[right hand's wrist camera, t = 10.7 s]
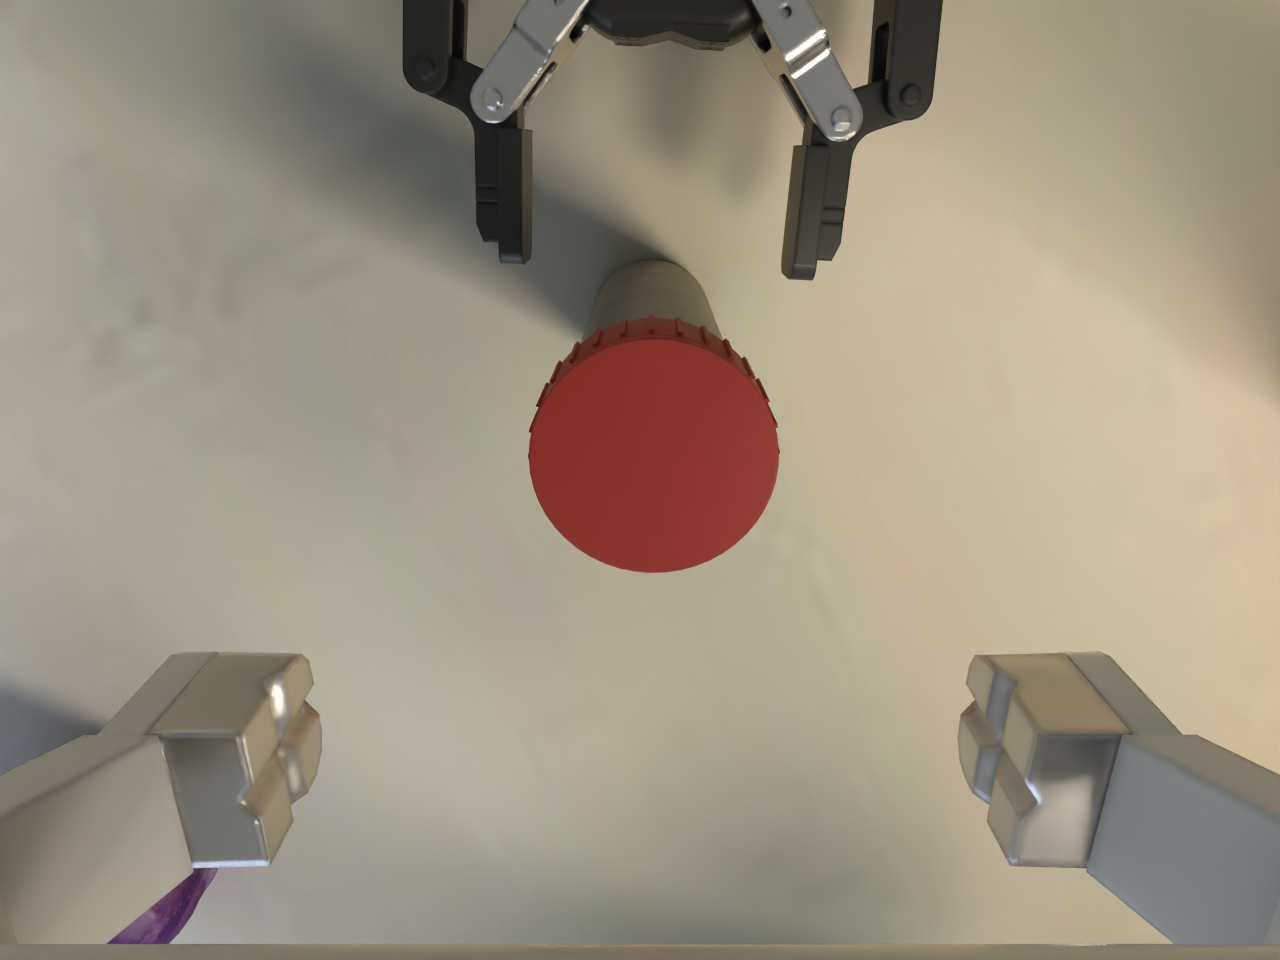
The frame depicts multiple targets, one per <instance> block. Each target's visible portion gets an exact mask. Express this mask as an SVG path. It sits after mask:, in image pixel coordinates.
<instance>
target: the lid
mask: <svg viewBox="0 0 1280 960" xmlns="http://www.w3.org/2000/svg"><path fill="white" fill-rule="evenodd" d="M768 402H770V401H769V399H768V397H767V394H766V392H765V390H764V388H763V386H762V384H761V382H760V380H759V378H758V379H756V380H755V376H754V373H753V371H752V369H751V367H750V365H749V363H748V361H747V359H746V358H745V357H743V358H741V357H740V356H739V355H738V354H737V353H736V352H735V351H734V350H733V349H732V348H731V345H730V343H729V341H728V340H727V339H724V340H723V341H722V340H721V339H720V338H718V337H717V336H715V335H714V334H712V333H710V332H708V331H707V328H706V326H704V325H702V326H701V328H700V327H697V326H695V325H692V324H689V323H686V322H682V321H681V318H679V317H676V319H675V320H673V319H664V318H654V315H649V318H642V319H635V320H629V321H627V319H626V318H624V319H622V321H621V323H618V324H615V325H612V326H610V327H607V328H605V329H603V330H602V329H601V327H600V328H598V329H596V333H595V334H594V335H592V336H591V337H589V338H587V339H586V340H585V341H583V342H582V343H581V344H580V343H579V342H577V343H575V345H574V347H573V350H572V352H571V353H570V354H569V355H568V356H567V357H566V358H565V360H564V361H563V362H561V361H559V362H558V363H557V365H556V367H555V370H554V372H553V374H552V377H551V379H550V384H549V383H546V384H545V387H544V389H543V391H542V393H541V396H540V398H539V400H538V402H537V405H536V406H537V407H538V410H537V412H536V414H535V417H534V419H533V421H532V424H531V426H530V429H529V432H530V433H531V438H530V445H529V454H528V459H529V465H530V474H531V478H532V483H533V487H534V490H535V493H536V495H537V498H538V501H539V503H540V505H541V506H542V508H543V510H544V512H545V514H546V516H547V517H548V518H549V520H550V521H551V523H552V524H553V525H554V527H555V528H556V529H557V530H558V531H559V532H560V533H561V534H562V535H563V536H564V537H565V539H567V540H568V541H569V542H570V543H572V544H573V545H574V546H575V547H576V548H578V549H579V550H581V551H582V552H584V553H585V554H587V555H589V556H590V557H592V558H594V559H596V560H598V561H601V562H603V563H605V564H608V565H611V566H614V567H617V568H620V569H625V570H630V571H635V572H646V573H660V572H671V571H678V570H683V569H686V568H690V567H694V566H697V565H699V564H702V563H704V562H707V561H709V560H711V559H713V558H715V557H717V556H719V555H720V554H722V553H724V552H725V551H727V550H728V549H729V548H731V547H732V546H734V545H735V544H736V543H737V542H738V541H739V540H740V539H742V538H743V537H744V536H745V535H746V534H747V533H748V532H749V530H750V529H751V528H752V527H753V526H754V525H755V523H756V522H757V521H758V519H759V517H760V516H761V514H762V513H763V511H764V510H765V508H766V506H767V504H768V501H769V499H770V497H771V495H772V492H773V488H774V485H775V482H776V477H777V471H778V463H779V453H780V450H779V447H778V438H777V432H776V429H775V428H778V426H777V422H776V420H775V418H774V416H773V414H772V411H771V409H770V407H769V405H768Z"/></svg>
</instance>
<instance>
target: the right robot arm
mask: <svg viewBox="0 0 1280 960" xmlns="http://www.w3.org/2000/svg"><path fill="white" fill-rule="evenodd" d="M313 685H314V682H313V677H312V672H311V668H310V663H309V660H308V659H307V658H306V657H305V656H303V655H302V654H288V653H239V652H222V653H219V652H181V653H177V654H173V655H171V656H170V657H169V658H168V659H167V660H166V661H165V662H164V663H163V664H162V665H161V667H160V668H159V669H158V670H157V671H156V672H155V673H154V674H153V675H152V676H151V677H150V678H149V679H148V681H147V682H146V683H145V684H144V685H143V686H142V687H141V688H140V689H139V690H138V691H137V692H136V693H135V695H134V696H133V697H132V698H131V699H130V700H129V701H128V702H127V703H126V704H125V705H124V706H123V708H122V709H121V710H120V711H119V712H118V713H117V714H116V715H115V716H114V717H113V718H112V719H111V720H110V722H109V723H108V724H107V725H106V726H105V727H104V728H103V729H102V730H101V731H100V732H99V733H98V734H97V735H82V736H80V737H78V738H76V739H74V740H72V741H70V742H68V743H66V744H63V745H61V746H59V747H57V748H55V749H53V750H51V751H49V752H47V753H45V754H43V755H41V756H38V757H36V758H34V759H32V760H30V761H28V762H26V763H24V764H22V765H20V766H18V767H16V768H13V769H11V770H9V771H7V772H5V773H3V774H1V775H0V960H1280V775H1279V774H1277V773H1275V772H1273V771H1271V770H1268V769H1266V768H1264V767H1262V766H1260V765H1258V764H1256V763H1254V762H1252V761H1250V760H1248V759H1246V758H1244V757H1241V756H1239V755H1237V754H1235V753H1233V752H1231V751H1229V750H1227V749H1225V748H1223V747H1221V746H1219V745H1216V744H1214V743H1212V742H1210V741H1208V740H1206V739H1204V738H1202V737H1200V736H1198V735H1183V734H1182V733H1181V732H1180V731H1179V730H1178V729H1177V728H1176V727H1175V726H1174V725H1173V724H1172V723H1171V721H1170V720H1169V719H1168V718H1167V717H1166V716H1165V715H1164V714H1163V713H1162V712H1161V711H1160V710H1159V709H1158V707H1157V706H1156V705H1155V704H1154V703H1153V702H1152V701H1151V700H1150V699H1149V698H1148V697H1147V696H1146V694H1145V693H1144V692H1143V691H1142V690H1141V689H1140V688H1139V687H1138V686H1137V685H1136V684H1135V683H1134V682H1133V680H1132V679H1131V678H1130V677H1129V676H1128V675H1127V674H1126V673H1125V672H1124V671H1123V670H1122V669H1121V667H1120V666H1119V665H1118V664H1117V663H1116V662H1115V661H1114V660H1113V659H1112V658H1111V657H1110V656H1109V655H1106V654H1104V653H1102V652H1099V651H1095V652H1066V653H1051V654H1002V655H975V656H974V658H973V660H972V662H971V664H970V666H969V671H968V676H967V681H966V685H967V686H968V688H969V690H970V692H971V693H972V695H973V697H974V698H975V701H974V702H973V703H972V704H971V705H970V706H969V707H968V708H967V709H966V710H965V711H964V712H963V713H962V714H961V716H960V724H959V731H958V747H959V759H960V763H961V767H962V770H963V774H964V777H965V779H966V781H967V783H968V785H969V787H970V789H971V791H972V793H973V794H975V795H976V796H978V797H979V798H980V799H982V800H983V801H985V802H986V803H988V804H989V805H990V806H989V811H988V817H987V823H988V825H989V827H990V828H991V830H992V832H993V834H994V836H995V838H996V840H997V842H998V844H999V846H1000V848H1001V850H1002V851H1003V853H1004V855H1005V857H1006V859H1007V861H1008V863H1009V865H1010V866H1029V867H1065V868H1087V870H1086V872H1087V873H1088V874H1090V875H1091V876H1092V877H1093V878H1095V879H1096V880H1097V881H1098V882H1099V883H1101V884H1102V885H1103V886H1104V887H1106V888H1107V889H1108V890H1109V891H1110V892H1112V893H1113V894H1114V895H1115V896H1117V897H1118V898H1119V899H1120V900H1121V901H1123V902H1124V903H1125V904H1126V905H1127V906H1129V907H1130V908H1131V909H1132V910H1134V911H1135V912H1136V913H1137V914H1138V915H1140V916H1141V917H1142V918H1143V919H1145V920H1146V921H1147V922H1148V923H1149V924H1151V925H1152V926H1153V927H1154V928H1155V929H1157V930H1158V931H1159V932H1160V933H1162V934H1163V935H1164V936H1165V937H1166V938H1168V939H1169V940H1170V941H1171V942H1173V943H1174V944H106V943H108V942H109V941H110V940H111V939H113V938H114V937H115V936H116V935H117V934H119V933H120V932H121V931H122V930H124V929H125V928H126V927H127V926H128V925H130V924H131V923H132V922H133V921H135V920H136V919H137V918H138V917H139V916H141V915H142V914H143V913H144V912H146V911H147V910H148V909H149V908H150V907H152V906H153V905H154V904H155V903H157V902H158V901H159V900H160V899H161V898H163V897H164V896H165V895H166V894H167V893H169V892H170V891H171V890H172V889H174V888H175V887H176V886H177V885H178V884H180V883H181V882H182V881H183V880H185V879H186V878H187V877H188V876H189V875H191V874H192V873H193V871H194V870H193V868H214V867H249V866H270V865H271V863H272V861H273V859H274V857H275V855H276V854H277V852H278V850H279V848H280V846H281V844H282V842H283V840H284V838H285V836H286V834H287V832H288V830H289V828H290V827H291V825H292V823H293V817H292V811H291V806H290V805H291V804H292V803H294V802H295V801H297V800H298V799H300V798H301V797H302V796H304V795H305V794H307V793H308V791H309V789H310V787H311V785H312V783H313V781H314V779H315V777H316V775H317V770H318V766H319V761H320V757H321V752H322V729H321V722H320V716H319V714H318V713H317V712H316V711H315V710H314V709H313V708H312V707H311V706H310V705H309V704H308V703H307V702H306V701H305V698H306V697H307V695H308V693H309V692H310V690H311V688H312V686H313Z"/></svg>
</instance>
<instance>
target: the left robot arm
mask: <svg viewBox="0 0 1280 960" xmlns="http://www.w3.org/2000/svg"><path fill="white" fill-rule="evenodd" d="M942 3H943V0H874V12H873V25H872V38H871V50H870V63H869V76H868V84H867V85H864V86H861V87H858V88H855V89H852V88H851V86H850V84H849V82H848V80H847V78H846V77H845V75H844V73H843V71H842V69H841V67H840V65H839V64H838V62H837V60H836V58H835V56H834V54H833V52H832V50H831V48H830V45H829V39H828V36H827V33H826V31H825V29H824V27H823V25H822V23H821V21H820V19H819V17H818V15H817V13H816V12H815V10H814V8H813V6H812V4H811V2H810V0H527V2H526V3H525V5H524V6H523V7H522V9H521V10H520V12H519V14H518V15H517V17H516V19H515V21H514V24H513V27H512V29H511V31H510V33H509V34H508V36H507V37H506V39H505V40H504V42H503V43H502V45H501V46H500V47H499V49H498V50H497V52H496V53H495V55H494V56H493V57H492V59H491V60H490V62H489V63H488V65H487V66H486V68H485V69H482V68H480V67H477V66H475V65H473V64H471V63H469V62H466V55H467V23H468V0H403V73H404V76H405V79H406V80H407V82H408V84H409V85H410V86H411V87H412V88H413V89H415V90H416V91H418V92H421V93H424V94H427V95H429V96H431V97H434V98H436V99H438V100H440V101H443V102H445V103H447V104H449V105H452V106H454V107H456V108H458V109H459V110H461V111H462V112H463V113H464V114H465V115H466V116H467V117H468V118H469V120H470V122H471V124H472V126H473V129H474V135H475V176H476V223H477V226H478V228H479V231H480V234H481V236H482V239H483V241H484V242H499V259H500V262H501V263H507V264H525V263H526V262H528V261H529V260H530V258H531V252H532V130H526V129H524V115H525V114H526V112H527V111H528V110H529V108H530V107H531V105H532V104H533V103H534V101H535V100H536V99H537V97H538V96H539V94H540V93H541V92H542V90H543V89H544V88H545V86H546V85H547V83H548V82H549V81H550V79H551V78H552V76H553V75H554V74H555V73H556V71H557V70H558V69H559V68H560V67H561V66H562V65H563V64H564V63H565V62H566V61H567V59H568V58H569V57H570V55H571V54H572V53H573V51H574V50H575V49H576V47H577V46H578V44H579V43H580V42H581V40H582V39H583V38H584V36H585V35H586V33H587V32H588V31H589V29H590V28H591V27H592V28H593V29H594V30H595V31H596V32H598V33H599V34H600V35H602V36H603V37H605V38H607V39H609V40H612V41H614V43H615V45H625V46H645V45H649V44H654V43H658V42H662V41H666V40H672V41H675V42H677V43H680V44H683V45H686V46H688V47H691V48H694V49H700V50H718V51H723V50H724V48H725V47H728V46H731V45H734V44H736V43H738V42H740V41H742V40H743V39H745V38H746V37H747V36H748V37H749V38H750V40H751V42H752V44H753V46H754V47H755V49H756V51H757V53H758V54H759V56H760V58H761V60H762V61H763V63H764V65H765V67H766V68H767V70H768V71H769V73H770V74H771V76H772V77H773V78H774V79H775V80H776V81H777V83H778V84H779V86H780V87H781V89H782V91H783V93H784V95H785V96H786V98H787V100H788V102H789V103H790V105H791V107H792V109H793V110H794V112H795V114H796V116H797V117H798V119H799V121H800V123H801V124H802V126H803V128H804V132H803V141H802V145H796V146H794V148H793V157H792V166H791V175H790V185H789V194H788V203H787V213H786V222H785V231H784V241H783V250H782V260H781V269H782V273H783V274H784V275H785V276H786V277H787V278H788V279H795V280H813V278H814V276H815V271H816V265H817V260H825V261H832V259H833V257H834V255H835V253H836V251H837V249H838V247H839V245H840V244H841V236H842V228H843V221H844V213H845V206H846V198H847V190H848V183H849V175H850V168H851V160H852V155H853V151H854V149H855V147H856V145H857V144H858V142H859V141H860V140H861V139H862V138H863V137H864V136H865V135H867V134H868V133H870V132H872V131H875V130H878V129H881V128H884V127H887V126H890V125H893V124H896V123H899V122H903V121H907V120H914V119H916V118H918V117H920V116H922V115H923V114H924V113H925V112H926V111H927V109H928V108H929V106H930V104H931V101H932V97H933V89H934V79H935V70H936V60H937V51H938V41H939V32H940V22H941V13H942Z"/></svg>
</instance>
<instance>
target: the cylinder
mask: <svg viewBox="0 0 1280 960" xmlns="http://www.w3.org/2000/svg"><path fill="white" fill-rule="evenodd" d="M649 315H654V318H664V319H673V320H675V319H676V317H679V318H681V321H682V322H686V323H689V324H692V325H695V326H697V327H700V328H701V326H702V325H704V326H706V328H707V331H708V332H710V333H712V334H714V335H715V336H717V337H718V338H720V339H721V340H722V341H723V339H722V336H721V334H720V331H719V329H718V326H717V324H716V321H715V318H714V316H713V313H712V311H711V308H710V305H709V303H708V300H707V298H706V295H705V293H704V291H703V289H702V287H701V286H700V284H699V283H698V282H697V280H696V279H695V278H694V277H693V276H692V275H691V274H690V273H689V272H687V271H686V270H685V269H683V268H681V267H680V266H678V265H676V264H673V263H671V262H667V261H663V260H656V259H647V260H640V261H636V262H633V263H630V264H628V265H626V266H623V267H622V268H620V269H619V270H617V271H616V272H615V273H614V274H612V275H611V276H610V277H609V278H608V279H607V281H606V282H605V283H604V285H603V286H602V288H601V289H600V291H599V293H598V295H597V298H596V301H595V304H594V307H593V310H592V313H591V315H590V318H589V321H588V324H587V327H586V330H585V333H584V335H583V338H582V341H581V343H582V342H583V341H585V340H586V339H587V338H589V337H591V336H592V335H594V334H595V333H596V329H598V328H600V327H601V329H602V330H603V329H605V328H607V327H610V326H612V325H615V324H618V323H621V321H622V319H624V318H626V319H627V321H629V320H635V319H642V318H649Z"/></svg>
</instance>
